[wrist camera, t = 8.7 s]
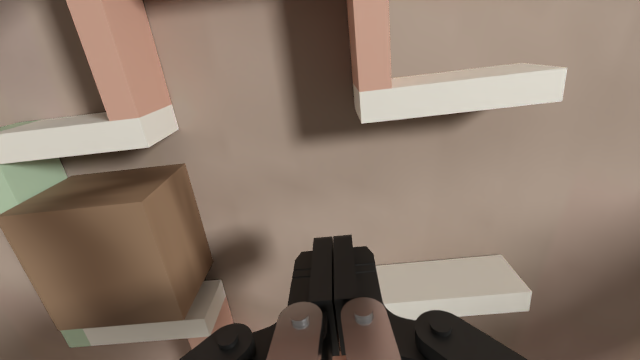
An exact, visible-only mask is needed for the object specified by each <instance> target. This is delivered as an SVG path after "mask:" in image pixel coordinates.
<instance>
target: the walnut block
mask: <svg viewBox="0 0 640 360" xmlns="http://www.w3.org/2000/svg"><path fill="white" fill-rule="evenodd" d="M0 227H1V229H2V231H3V233H4V235H5V236H6V238H7V240H8V242H9V244H10V245H11V247H12V249H13V251H14V252H15V254H16V256H17V258H18V260H19V261H20V263H21V265H22V267H23V269H24V270H25V272H26V274H27V276H28V278H29V279H30V281H31V283H32V285H33V287H34V288H35V290H36V292H37V294H38V296H39V297H40V299H41V301H42V303H43V305H44V306H45V308H46V310H47V312H48V314H49V315H50V317H51V319H52V321H53V322H54V324H55V326H56V328H57V330H58V331H60V330H72V329H84V328H96V327H108V326H120V325H132V324H144V323H156V322H168V321H180V320H184V319H185V317H186V315H187V313H188V311H189V309H190V307H191V305H192V303H193V301H194V299H195V297H196V295H197V293H198V291H199V289H200V287H201V285H202V283H203V281H204V279H205V277H206V275H207V273H208V271H209V269H210V267H211V265H212V263H213V259H212V255H211V252H210V249H209V245H208V242H207V238H206V235H205V231H204V228H203V224H202V221H201V217H200V214H199V210H198V207H197V203H196V200H195V196H194V193H193V190H192V186H191V183H190V179H189V176H188V172H187V169H186V165H185V164H175V165H166V166H157V167H148V168H139V169H130V170H121V171H112V172H103V173H93V174H84V175H75V176H70V177H69V178H67V179H65V180H63V181H61V182H59V183H57V184H56V185H54V186H52V187H50V188H48V189H46V190H44V191H43V192H41V193H39V194H37V195H35V196H33V197H31V198H30V199H28V200H26V201H24V202H22V203H20V204H18V205H16V206H15V207H13V208H11V209H9V210H7V211H5V212H3V213H2V214H0Z"/></svg>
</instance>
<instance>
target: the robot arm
mask: <svg viewBox="0 0 640 360" xmlns="http://www.w3.org/2000/svg"><path fill="white" fill-rule="evenodd" d="M339 340H340V347H341V354H342V356H343V355H346V360H527V359H526V358H524V357H522V356H521V355H519V354H517V353H516V352H514V351H513V350H511V349H509V348H508V347H506V346H504V345H503V344H501V343H500V342H498V341H496V340H495V339H493V338H491V337H490V336H488V335H486V334H485V333H483V332H482V331H480V330H478V329H477V328H475V327H473V326H472V325H470V324H469V323H467V322H465V321H464V320H462V319H460V318H459V317H457V316H455V315H454V314H452V313H449V312H446V311H442V310H430V311H427V312H424V313H422V314H421V315H420V316H419V317H418V318H417V319H416V320H411V319H406V318H402V317H399V316H397V315H395V314H393V313H391V312H390V311H389V310H388V309H387V308H386V307H385V305H384V304H383V301H382V296H381V291H380V286H379V281H378V276H377V271H376V265H375V260H374V255H373V253H372V252H371V251H370V250H369V249H368V248H367V247H366V246H363V247H353V245H352V235H343V236H334V237H333V238H332V237H321V238H314V242H313V251H306V252H301V253H300V255H299V256H298V257H297V259H296V260H295V264H294V271H293V276H292V282H291V288H290V294H289V301H288V307H286V308H285V309H284V310H283V311H282V312H281V313H280V315H279V317H278V320H277V323H275V324H274V325H272V326H270V327H267V328H265V329H262V330H259V331H256V332H253V333H252V332H251V330H250V328H249V327H248V326H246V325H244V324H239V323H234V324H229V325H226V326H223V327H221V328H219V329H218V330H216V331H215V332H214V333H212V334H211V335H210V336H209V337H207V338H206V339H205V340H204V341H202V342H201V343H200V344H199V345H197V346H196V347H195V348H193V349H192V350H191V351H190V352H188V353H187V354H186V355H185V356H183V357H182V358H181V359H180V360H332V356H340V351H339Z"/></svg>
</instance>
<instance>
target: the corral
mask: <svg viewBox="0 0 640 360" xmlns="http://www.w3.org/2000/svg"><path fill="white" fill-rule="evenodd" d="M66 2H67V5H68V7H69V10H70V13H71V16H72V18H73V21H74V24H75V27H76V30H77V32H78V35H79V38H80V41H81V43H82V46H83V49H84V52H85V55H86V57H87V60H88V63H89V66H90V68H91V71H92V74H93V77H94V80H95V82H96V85H97V88H98V91H99V94H100V96H101V99H102V102H103V105H104V107H105V110H106V112H103V113H94V114H86V115H77V116H69V117H61V118H52V119H44V120H35V121H27V122H19V123H15V124H11V125H7V126H4V127H0V214H2V213H3V212H5V211H7V210H9V209H11V208H13V207H15V206H16V205H18V204H20V203H22V202H24V201H26V200H28V199H30V198H31V197H33V196H35V195H37V194H39V193H41V192H43V191H44V190H46V189H48V188H50V187H52V186H54V185H56V184H57V183H59V182H61V181H63V180H65V179H67V178H68V177H67V175H66V173H65V170H64V168H63V166H62V163H61V161H60V159H59V157H68V156H77V155H86V154H95V153H104V152H113V151H122V150H131V149H140V148H149V147H151V146H152V145H154V144H155V143H157V142H159V141H160V140H162V139H164V138H165V137H167V136H169V135H170V134H172V133H174V132H175V131H177V130H179V128H178V124H177V121H176V117H175V114H174V110H173V106H172V103H171V99H170V96H169V92H168V89H167V85H166V82H165V78H164V75H163V71H162V67H161V64H160V60H159V57H158V53H157V50H156V46H155V43H154V39H153V36H152V32H151V29H150V25H149V21H148V18H147V14H146V11H145V7H144V4H143V0H66ZM347 12H348V25H349V38H350V52H351V65H352V78H353V91H354V104H355V110H356V113H357V115H358V117H359V119H360V121H361V124H363V123H372V122H381V121H390V120H399V119H408V118H417V117H426V116H435V115H444V114H453V113H461V112H470V111H479V110H488V109H497V108H506V107H515V106H524V105H533V104H542V103H551V102H560V101H562V99H563V92H564V86H565V80H566V73H567V68H566V67H556V66H547V65H538V64H528V63H516V64H507V65H499V66H490V67H482V68H474V69H465V70H457V71H448V72H440V73H431V74H423V75H415V76H406V77H398V78H391V51H390V22H389V0H347ZM376 271H377V276H378V281H379V286H380V291H381V296H382V301H383V304H384V305H385V307H386V308H387V309H388V310H389V311H390V312H391V313H393V314H395V315H397V316H399V317H402V318H406V319H411V320H416V319H417V318H418V317H419V316H420V315H421V314H422V313H424V312H427V311H430V310H442V311H446V312H449V313H452V314H454V315H455V316H457V317H461V316H474V315H486V314H499V313H511V312H524V311H529V308H530V302H531V295H532V291H531V290H530V289H529V287H528V286H527V285H526V284H525V283H524V281H523V280H522V279H521V278H520V277H519V275H518V274H517V273H516V272H515V271H514V269H513V268H512V267H511V266H510V265H509V263H508V262H507V261H506V260H505V259H504V257H503V256H502V255H491V256H480V257H469V258H457V259H446V260H435V261H424V262H412V263H401V264H390V265H379V266H376ZM229 324H234V323H233V319H232V315H231V312H230V308H229V305H228V301H227V298H226V294H225V291H224V287H223V284H222V280H210V281H203V283H202V285H201V287H200V289H199V291H198V293H197V295H196V297H195V299H194V301H193V303H192V305H191V307H190V309H189V311H188V313H187V315H186V317H185V319H184V320H180V321H168V322H156V323H144V324H132V325H120V326H108V327H96V328H84V329H72V330H60V331H61V333H62V335H63V337H64V338H65V340H66V342H67V344H68V346H69V347H70V348H72V347H85V346H97V345H110V344H122V343H135V342H147V341H160V340H172V339H185V338H188V341H189V344H190V347H191V349H193V348H195V347H196V346H197V345H199V344H200V343H201V342H202V341H204V340H205V339H206V338H207V337H209V336H210V335H211V334H212V333H214V332H215V331H216V330H218V329H219V328H221V327H223V326H226V325H229ZM332 360H346V355H343V356H342V354H341V351H340V356H332Z"/></svg>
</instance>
